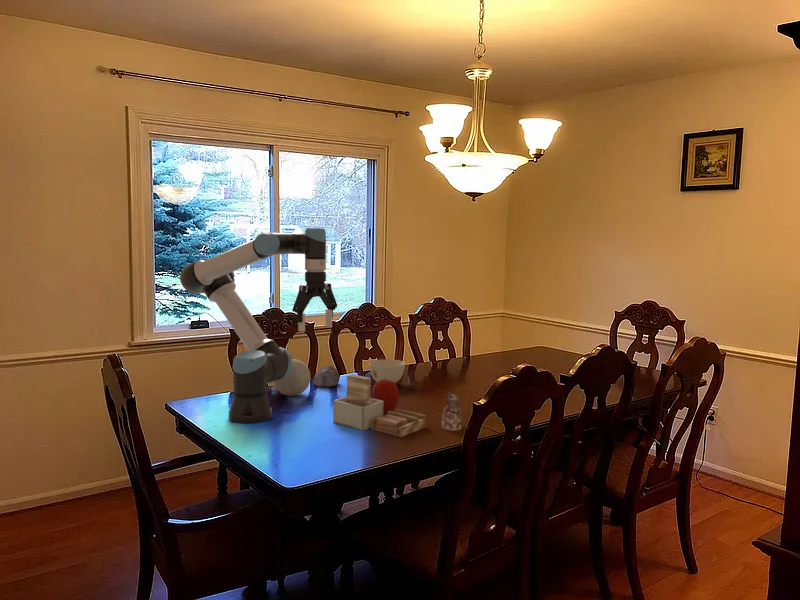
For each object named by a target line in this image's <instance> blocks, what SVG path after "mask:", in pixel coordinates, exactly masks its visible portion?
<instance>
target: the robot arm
mask: <svg viewBox="0 0 800 600" xmlns="http://www.w3.org/2000/svg"><path fill="white" fill-rule="evenodd" d="M326 232H327V231H326V229H325V228H323V227H305V229H304V233H303V232H301V233H298V232H268V231H267V232H264V233H262V232H261V233H259V234H257V236H256V237H255V238H254V239H251V240H249V241H248V242H244V243H243V244H241V245H238V246H236V247H234V248H232V249H229V250H226V251H225V252H222V253H220V254H218V255H214V256H213V257H211V258H208V259H206V260H203V259H199V260H197V261H194V262H191V263H189V264H187V265H186V266H184V267H183V269H182V270H181V272H180V274H179V275H180V276H179V279H180V284H181V286H182V287H183V289H184V290H186V291H187V292H189V293H191V294H196V295H197V294H204V295H205V297H207V299H208V301H209V302H211V303H216V305H217V306H218V308H219V310H220V311H221V313H222V314H223V316H224V317H225V318H226V320H227V321H228V323H229V324H230V325H231V327H232V329H233V330H234V332H235V333H236V335H237V336H238V337H239V339H240V341H241V342H242V343H243V346H245V348H246V350H247V351H242V352H239V353H238V354H236V355H235V356H234V357H233V361H232V362H233V363H232V373H233V374H232V376H233V377H232V379H233V380H232V383H233V397H232V401H231V403H230V404H231V405H230V409H229V411H228V419H229V420H230V421H231V422H235V423H239V424H240V423H241V424H252V423H253V424H255V423H260V422H265V421H267V420H269V419H271V418H272V416H273V410H272V407H271V403H270V401H269V398H268V395H267V393H268V392H267V391H268V390H267V389H268V388H267V386H268V385H267V384H270V383H272V382H273V383H274V381H275V380H279V379H282V378H283V377H285V376H286V375H287V374H288V373H289V372H290V370H291V368H292V359H293V358H292V355H291V353H290V351H288V349H286V348H284V347H281V346H279V345H278V344H277V343H276V341H275V340H274V339H271V338H270V339H269V338H268V336H266V334H265V332H264V331H263V329H262V328H261V327H260V325H259V323H258V322H257V320H256V319H255V317H253V315H252V313H251V312H250V310H249V309H248V307H247V306H246V305H245V302H243V300H242V298H241V297H240V296H239V294H238V293H237V291H236V287H237V286H236V285H237V284H236V283H235V282H236V281H235V271H238V270H240V269H244V268H245V267H247V266H250V265H252V264H255V263H257V262H259V261H261V260H264V259H267V258H270V257H272V256H274V255H304V270H305V272H304V281H305V285H303V284H300V285H299V287H298V293H297V296H296V297H295V300H294V304H293V307H292V309H291V311H292V312H294V313H295V314H296V315H297V316H296V322H297V324H298V325H297V326H298V330H297V331H298V332H302V333H304V332H305V333H306V313H304V312H305V310H306V309H307V306H308V305H309V303H310V302H311V300H312V299H313V298H316V297H319V298H320V300H321V302H322V303H323V304H324V306H325V307H326V308H327V309H325V328H333V318H334V311H335V310H336V308H338V303H337V301H336V300H337V299H336V297H335V294H334V293H333V289H332V283H328V282H326V281H327V272H326V269H327V256H326V255H327V251H326V250H327V237H326V236H327V235H326Z"/></svg>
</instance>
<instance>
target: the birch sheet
mask: <svg viewBox="0 0 800 600" xmlns="http://www.w3.org/2000/svg"><path fill="white" fill-rule="evenodd" d="M371 383H372V378H371V377H367V376H362V375H357V374H353V373H352V374H348V375H346V397H347V403H349V404H353V405H357V406H361V407H364V406H368V405H371V398H372V390H371V389H372V388H371V387H372V384H371Z"/></svg>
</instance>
